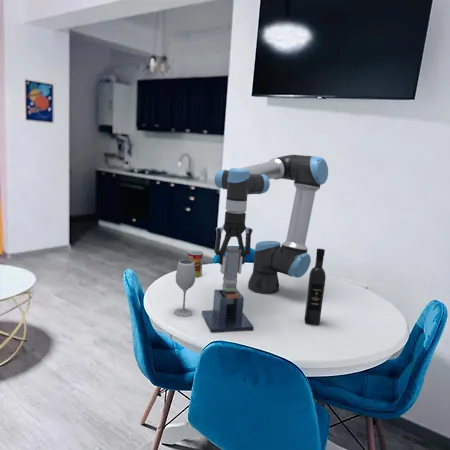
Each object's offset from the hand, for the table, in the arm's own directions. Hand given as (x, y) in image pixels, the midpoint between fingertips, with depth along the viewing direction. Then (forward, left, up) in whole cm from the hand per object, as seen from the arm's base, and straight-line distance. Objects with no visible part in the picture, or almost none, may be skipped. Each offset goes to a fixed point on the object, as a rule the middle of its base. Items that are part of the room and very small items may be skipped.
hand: (230, 272), depth 150 cm
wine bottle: (-34, +4, -20) cm, 40 cm away
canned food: (+2, -55, -20) cm, 59 cm away
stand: (0, 0, -20) cm, 20 cm away
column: (0, 0, -12) cm, 12 cm away
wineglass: (+15, -10, -20) cm, 27 cm away
